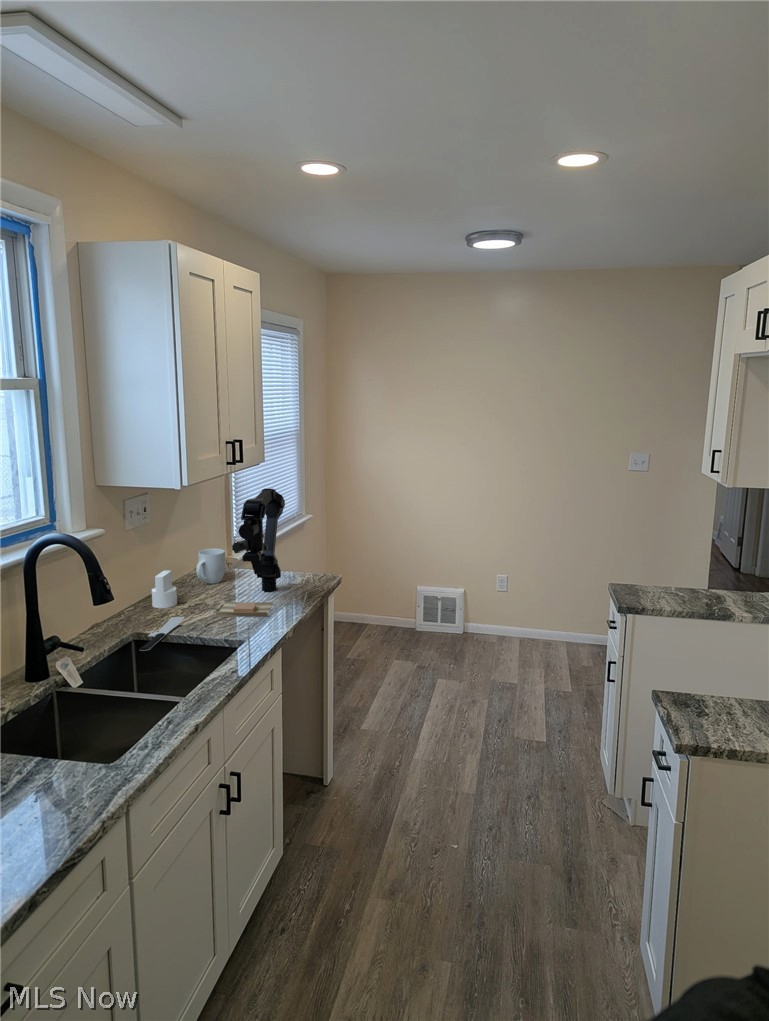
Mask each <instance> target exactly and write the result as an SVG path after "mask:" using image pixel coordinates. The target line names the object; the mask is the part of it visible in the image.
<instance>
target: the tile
mask: <svg viewBox="0 0 769 1021" xmlns="http://www.w3.org/2000/svg"><path fill="white" fill-rule="evenodd" d="M255 608H256V603H237V604H236V606H235V607H234V612H254V610H255Z"/></svg>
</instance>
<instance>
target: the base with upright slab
mask: <svg viewBox="0 0 769 1021" xmlns="http://www.w3.org/2000/svg"><path fill="white" fill-rule="evenodd" d="M172 579H173V578H172V570H162V571H161V572H160V573H158V574H157V575H155V576H154V582H155V583H154V584H155V587H154V588H151V604H152V607H153V608H155V609H168V608H172V607H176V606H177V605H178V597H177V596H178V595H177V594H178V592H177V590H178V589H177V588H178V587H176V586H174V585H173V580H172Z"/></svg>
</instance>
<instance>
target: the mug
mask: <svg viewBox="0 0 769 1021" xmlns="http://www.w3.org/2000/svg"><path fill="white" fill-rule="evenodd" d="M197 555H198V560H197V565H196V569H195V570H196V573H195V574H196V576H197V578H198V579H199V580H200V581H203V582H204V583H205V584H213V585H215V584H218V583H221V581H222V580H223V578H224V576H225V573H226V550H224V549H221V548H204V549H201V550H198V553H197Z"/></svg>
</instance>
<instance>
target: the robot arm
mask: <svg viewBox="0 0 769 1021" xmlns="http://www.w3.org/2000/svg"><path fill="white" fill-rule="evenodd" d="M285 501H286V500H285V499H284V496H283V495H282V494H281V493H279V492H278V491H277V490H276V489H275V488H263V489H261V491H260V493H259V494H257V496H255V497H254V498H248V499H247V500H245V502H244V503H243V506H242V511H241V516H240V520H241V521H243V523H242V524H241V525H240V527H239V528H238V535H239V537H240V538H242V539H243V540H240V541H236V542H233V544H232V545H231V551H233V552H234V554H238V553H239V552H242V551H245V552H244V553H243V554H242V557H241V558H242V561H243V562H250V563H251V568H252V570H253V573H254V574H255V575H256V578H257V579H259V578H260V579H261V591H262V592H264V593H272V592H274V591H279V588H278V587H277V580H278V579H281V578H282V571H281V568H280V565H279V563H278V562H279V561H278V559H277V557H276V556H277V555H276V554H275V553H276V552H275V550H276V543H277V532H278V522H279V519H280V518H281V516H282V514H283V512H284V509H285V507H286V506H285V505H286V502H285ZM265 516H266V517H265ZM265 518H266V519H265ZM264 519H265V527H264V526H263V525H264V524H263V520H264ZM263 527H264V528H263Z"/></svg>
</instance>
